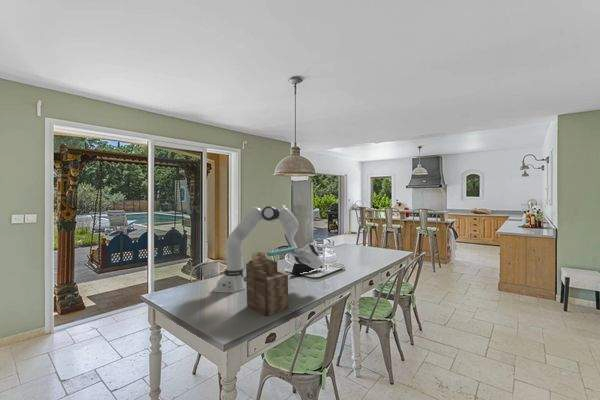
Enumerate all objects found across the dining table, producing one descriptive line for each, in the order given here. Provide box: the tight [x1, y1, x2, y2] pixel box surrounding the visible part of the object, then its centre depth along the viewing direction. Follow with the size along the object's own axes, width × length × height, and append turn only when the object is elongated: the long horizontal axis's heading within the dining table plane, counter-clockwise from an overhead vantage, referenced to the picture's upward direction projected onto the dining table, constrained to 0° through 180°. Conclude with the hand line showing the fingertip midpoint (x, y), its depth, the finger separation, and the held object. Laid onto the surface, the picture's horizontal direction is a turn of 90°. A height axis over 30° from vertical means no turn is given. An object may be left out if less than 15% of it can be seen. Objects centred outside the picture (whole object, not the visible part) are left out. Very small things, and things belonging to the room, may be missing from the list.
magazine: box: [291, 262, 324, 276], centre depth 243 cm, size 17×3×30 cm
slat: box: [266, 246, 299, 257], centre depth 182 cm, size 22×4×2 cm, turn 132°
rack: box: [245, 250, 290, 317], centre depth 171 cm, size 16×20×32 cm
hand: (291, 249), depth 187 cm, fingers closed on slat, 4 cm apart
